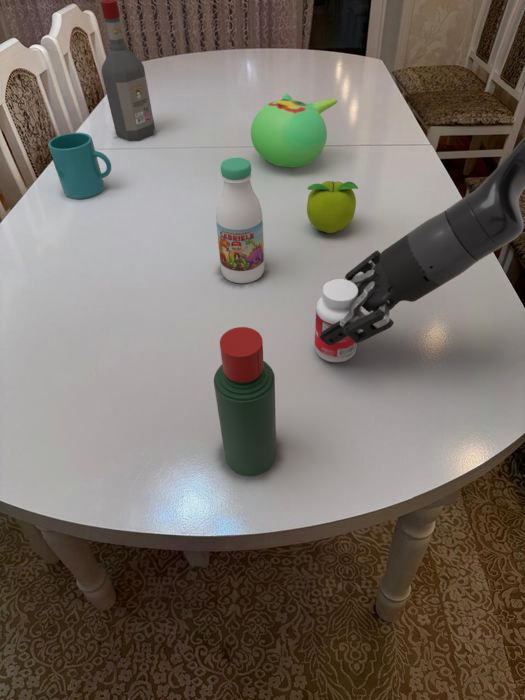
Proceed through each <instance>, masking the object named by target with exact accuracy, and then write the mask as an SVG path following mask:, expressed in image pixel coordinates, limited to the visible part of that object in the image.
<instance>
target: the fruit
mask: <svg viewBox="0 0 525 700" xmlns="http://www.w3.org/2000/svg"><path fill="white" fill-rule="evenodd" d="M306 189H307V190H308V191H310V192H309V194H308V197H307V203H306V214H307V218H308V220H309V222H310V223H311V225H312V226H313V227H314V228H315V229H316V230H318V231H320V232H324V233H325V234H334V233H336V232H339V231H341V230H343V229H345V228H346V227H348V225H350V223H351V222H352V221H353V219H354V217H355V213H356V206H357V199H356V194H355V192H354V190H359V187H358V185H357V184H356V183H354V182H353V181H346V182H344V183H343V182H342V181H334V180H332V181H331V180H327V181H324V182H322V183H312V184H310V185H308V187H307V188H306Z"/></svg>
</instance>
